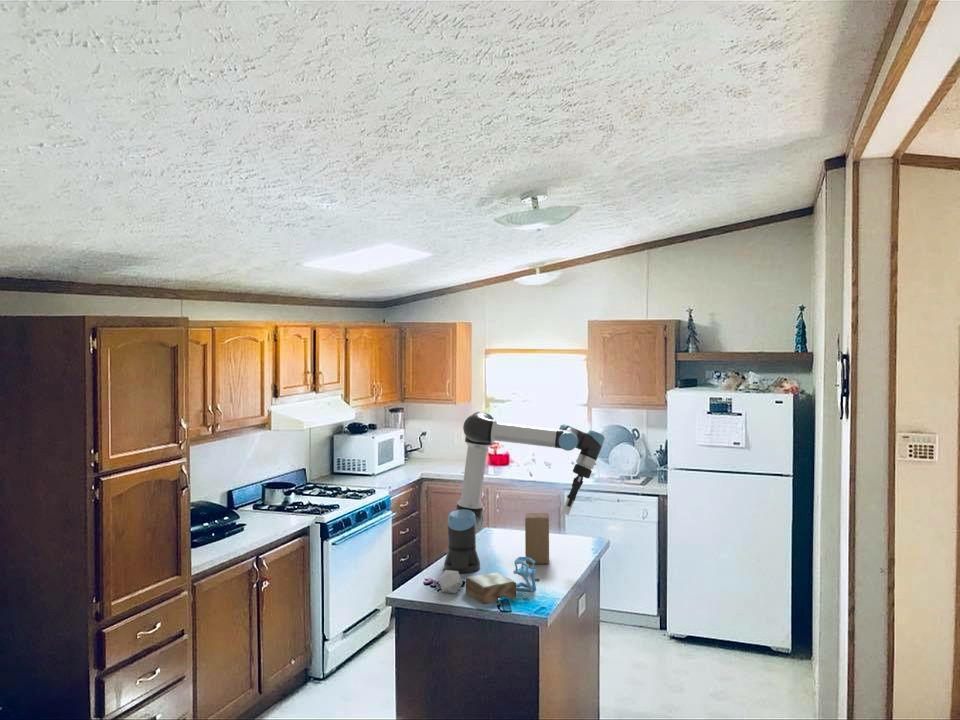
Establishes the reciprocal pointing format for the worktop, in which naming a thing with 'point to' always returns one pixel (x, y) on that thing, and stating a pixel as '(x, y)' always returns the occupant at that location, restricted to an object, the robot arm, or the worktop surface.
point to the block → (537, 537)
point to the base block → (490, 587)
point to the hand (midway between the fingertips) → (564, 513)
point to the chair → (525, 573)
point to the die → (450, 581)
